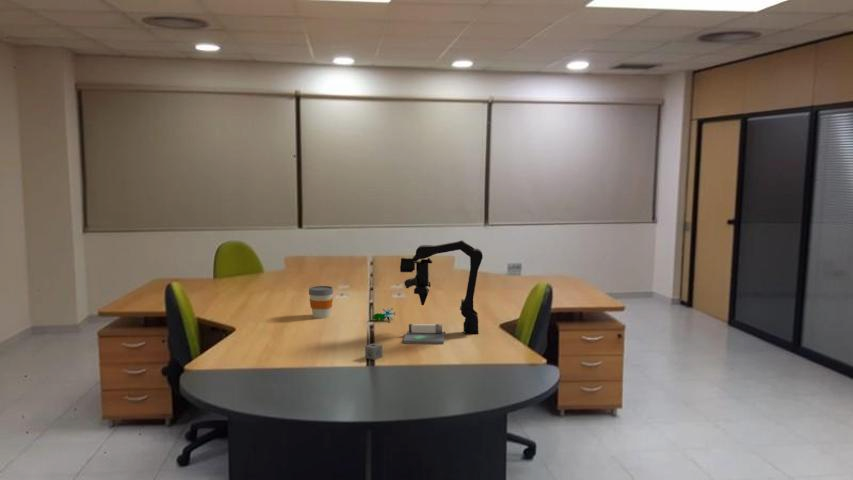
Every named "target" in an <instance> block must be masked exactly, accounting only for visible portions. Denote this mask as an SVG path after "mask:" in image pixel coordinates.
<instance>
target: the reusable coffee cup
mask: <svg viewBox="0 0 853 480" xmlns="http://www.w3.org/2000/svg"><path fill="white" fill-rule="evenodd" d="M308 294H309V306H310V308H311V311H312V317H313V318H314V319H327V318H329V317H331V312H332V307H333V302H334V300H333V294H334V288H333V287H332V286H329V285H317V286H311V287H309V288H308Z"/></svg>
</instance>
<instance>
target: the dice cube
mask: <svg viewBox="0 0 853 480" xmlns="http://www.w3.org/2000/svg"><path fill="white" fill-rule="evenodd" d="M364 355H365V356H364V357H365V359H368V360H373V361H375V360H378V359H381V358H383V344H377V343H370V344H367V345H365V346H364Z"/></svg>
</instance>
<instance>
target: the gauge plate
mask: <svg viewBox="0 0 853 480" xmlns="http://www.w3.org/2000/svg"><path fill="white" fill-rule="evenodd" d="M446 334H447V333H446V331H442V333H440V334H437V333H414V332H409V330H407V331H406V333H405V336H404V338H403V340H402V343H403V344H425V345H426V344H429V345H430V344H432V345H443V344H444V343H445V340H446Z"/></svg>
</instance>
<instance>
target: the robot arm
mask: <svg viewBox="0 0 853 480" xmlns="http://www.w3.org/2000/svg"><path fill="white" fill-rule="evenodd" d="M454 251H461V252H463V253H464V254H465V255H467V256H468V257H469V263H470V264H469V265H470V266H469V267H470V269H469V276H468V281H467V285H466V292H465V298H464V299H462V298H461V301H460V302H461V304H460V306H459V311H460V314H461V315H462V317H464V321H463V332H464V334H465V335H467V334H470V335H479V331H480V330H479V318H478V317H479V315H478V312H477V311H476V310H475V309H474V297H475V291H476V285H477V277H478V274H479V273H478V271H479V268H480V266H481V264H482V260H483V252H482V250H481V249H479V248H475V247H473V246H471V245H470V244H468V243H467V242H465V241H464V240H458V241H453V242H446V243H442V244H436V245H432V244H425V245H424V244H423V245H419V246H418V247H417V248H416V250H415V255H413V256H412V257H411V258H407V257H401V258H400V266H399V269H400V271H399V272H400V273H414V271H416V272H415V273H416V274H415V276H414V277H411V278H408V279H406V280H405V281H404V282H403V283H404V286H405V288H406V289H409V288H411V287H414V286H415V288H414V289H413V294H416V295H418V297H419V300H420V305H421V306H425V303H426V300H427V298H428V295H429V292H430V288H431V285H432V283H431V281H429V277H430V274H429V264H433V260H432V259H431V258H430V257H432V256H435V255H438V254H443V253H448V252H454Z"/></svg>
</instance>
